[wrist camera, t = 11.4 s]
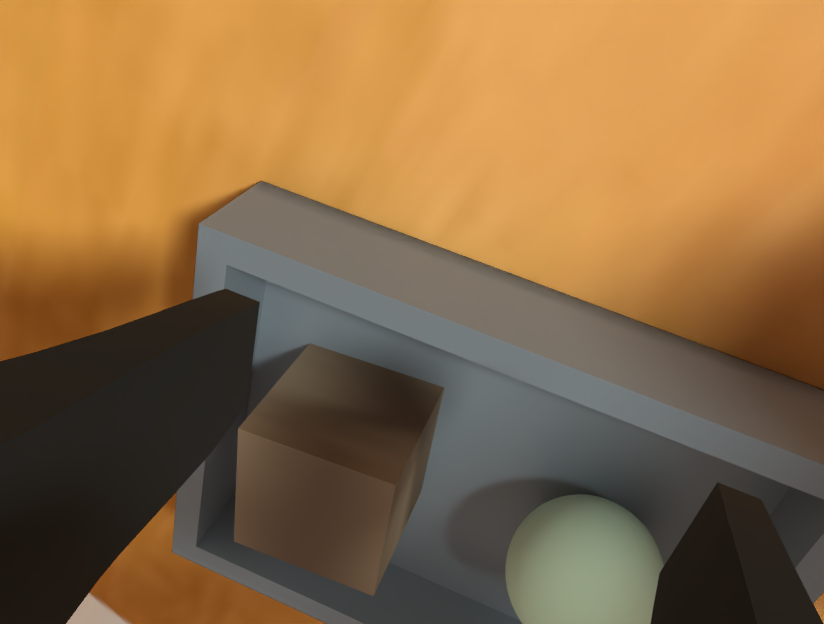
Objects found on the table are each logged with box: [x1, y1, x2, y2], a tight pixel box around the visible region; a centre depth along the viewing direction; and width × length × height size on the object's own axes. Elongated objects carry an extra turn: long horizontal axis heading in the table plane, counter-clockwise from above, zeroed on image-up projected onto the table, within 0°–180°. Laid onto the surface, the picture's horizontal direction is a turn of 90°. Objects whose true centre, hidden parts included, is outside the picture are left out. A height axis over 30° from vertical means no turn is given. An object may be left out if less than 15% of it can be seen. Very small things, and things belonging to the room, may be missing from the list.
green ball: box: [505, 494, 664, 624], centre depth 19 cm, size 4×4×4 cm
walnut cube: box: [234, 343, 444, 596], centre depth 20 cm, size 4×4×4 cm
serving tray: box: [172, 181, 824, 624], centre depth 21 cm, size 16×12×3 cm
